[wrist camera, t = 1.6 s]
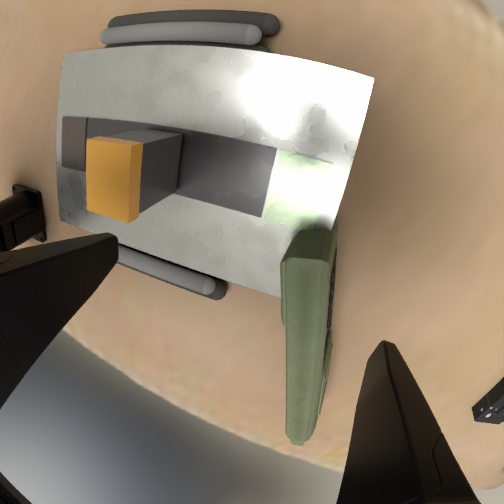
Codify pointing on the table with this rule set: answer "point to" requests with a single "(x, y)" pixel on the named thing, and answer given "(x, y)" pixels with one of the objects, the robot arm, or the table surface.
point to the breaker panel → (216, 149)
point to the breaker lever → (131, 172)
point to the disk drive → (491, 405)
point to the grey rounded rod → (171, 273)
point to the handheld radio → (307, 326)
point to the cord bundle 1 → (191, 29)
